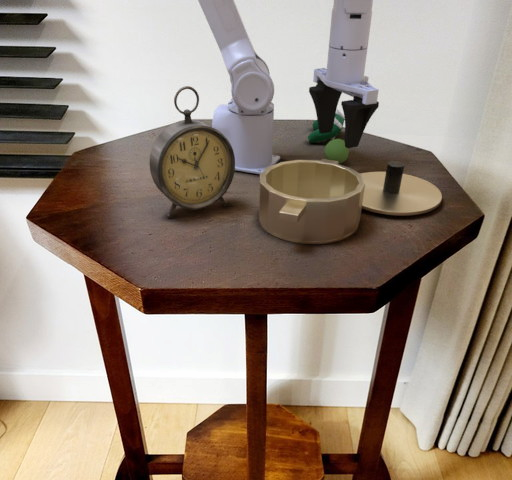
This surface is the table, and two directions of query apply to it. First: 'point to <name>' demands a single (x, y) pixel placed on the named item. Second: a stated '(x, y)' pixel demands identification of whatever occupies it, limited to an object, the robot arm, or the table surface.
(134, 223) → the table surface
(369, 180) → the lid
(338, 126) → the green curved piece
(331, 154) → the ball
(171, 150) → the alarm clock
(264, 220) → the pot
